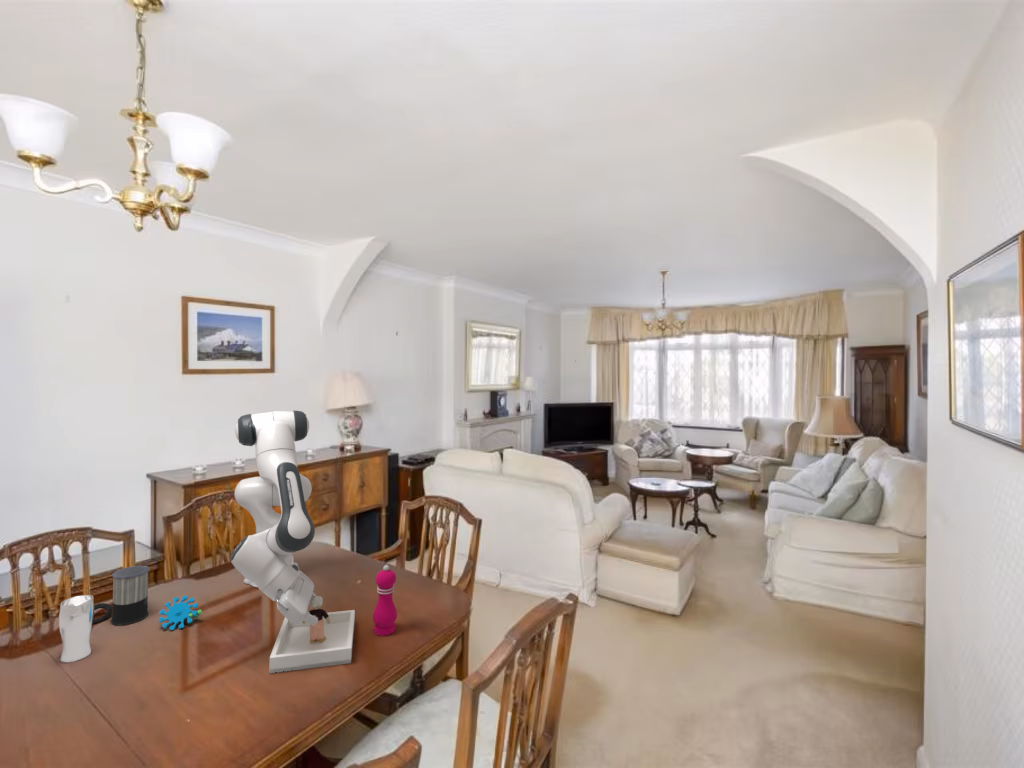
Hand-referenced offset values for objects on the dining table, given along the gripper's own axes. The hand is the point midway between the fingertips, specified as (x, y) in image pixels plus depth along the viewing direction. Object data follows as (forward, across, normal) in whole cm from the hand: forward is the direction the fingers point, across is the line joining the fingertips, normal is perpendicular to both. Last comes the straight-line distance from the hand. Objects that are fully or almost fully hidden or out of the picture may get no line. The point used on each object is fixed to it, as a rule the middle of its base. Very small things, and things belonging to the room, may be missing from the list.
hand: (318, 614), depth 136 cm
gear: (-23, +21, +36) cm, 47 cm away
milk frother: (-37, +29, +50) cm, 69 cm away
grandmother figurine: (+5, +1, +6) cm, 8 cm away
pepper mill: (+20, +4, -7) cm, 21 cm away
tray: (+6, 0, +7) cm, 9 cm away
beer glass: (-37, +9, +50) cm, 63 cm away
